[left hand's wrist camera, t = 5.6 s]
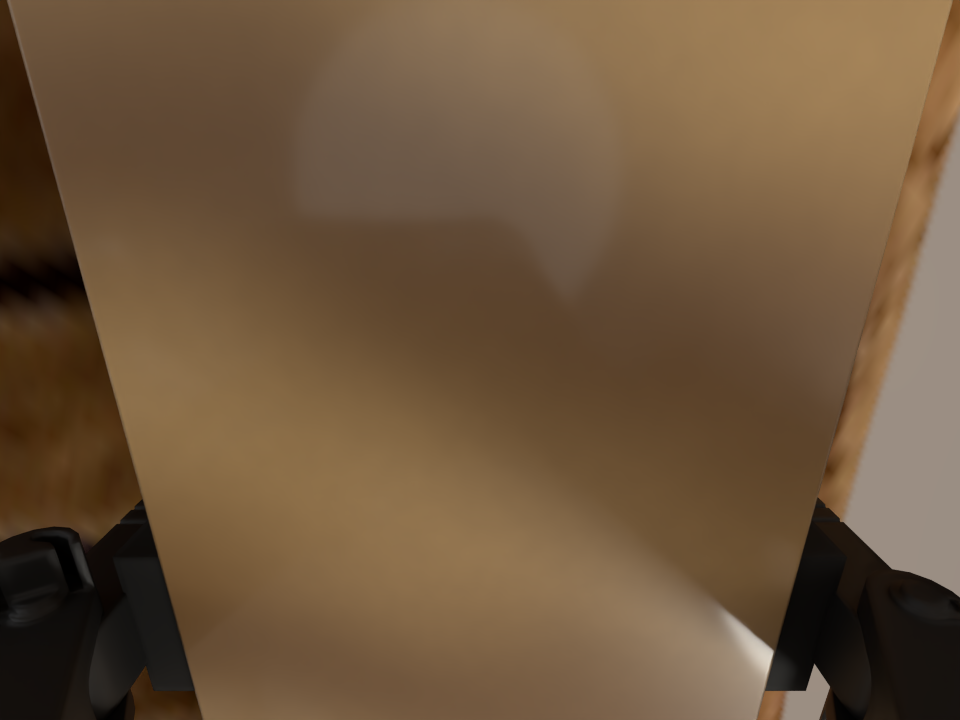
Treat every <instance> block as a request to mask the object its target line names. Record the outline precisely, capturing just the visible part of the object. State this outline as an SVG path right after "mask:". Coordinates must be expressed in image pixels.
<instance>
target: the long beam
mask: <svg viewBox="0 0 960 720" xmlns="http://www.w3.org/2000/svg"><path fill="white" fill-rule="evenodd" d="M952 2H953V0H7V3H8V6H9V10H10V14H11V17H12V21H13V25H14V28H15V32H16V36H17V39H18V43H19V47H20V50H21V54H22V58H23V61H24V65H25V69H26V72H27V76H28V80H29V83H30V87H31V91H32V94H33V98H34V102H35V105H36V109H37V113H38V116H39V120H40V124H41V127H42V131H43V135H44V139H45V142H46V146H47V150H48V153H49V157H50V161H51V164H52V168H53V172H54V175H55V179H56V183H57V186H58V190H59V194H60V197H61V201H62V205H63V208H64V212H65V216H66V219H67V223H68V227H69V230H70V234H71V238H72V241H73V245H74V249H75V252H76V256H77V260H78V263H79V267H80V271H81V274H82V278H83V282H84V285H85V289H86V293H87V296H88V300H89V304H90V307H91V311H92V315H93V318H94V322H95V326H96V329H97V333H98V337H99V340H100V344H101V348H102V351H103V355H104V359H105V362H106V366H107V370H108V373H109V377H110V381H111V384H112V388H113V392H114V395H115V399H116V403H117V406H118V410H119V414H120V417H121V421H122V425H123V428H124V432H125V436H126V439H127V443H128V447H129V450H130V454H131V458H132V462H133V465H134V469H135V473H136V476H137V480H138V484H139V487H140V491H141V495H142V498H143V502H144V506H145V509H146V513H147V517H148V520H149V524H150V528H151V531H152V535H153V539H154V542H155V546H156V550H157V553H158V557H159V561H160V564H161V568H162V572H163V575H164V579H165V583H166V586H167V590H168V594H169V597H170V601H171V605H172V608H173V612H174V616H175V619H176V623H177V627H178V630H179V634H180V638H181V641H182V645H183V649H184V652H185V656H186V660H187V663H188V667H189V671H190V674H191V678H192V682H193V685H194V689H195V693H196V696H197V700H198V704H199V707H200V711H201V715H202V718H203V720H757V718H758V714H759V710H760V707H761V703H762V699H763V696H764V692H765V688H766V685H767V681H768V677H769V674H770V670H771V666H772V663H773V659H774V655H775V652H776V648H777V644H778V641H779V637H780V633H781V630H782V626H783V622H784V619H785V615H786V611H787V608H788V604H789V600H790V597H791V593H792V589H793V586H794V582H795V578H796V575H797V571H798V567H799V564H800V560H801V556H802V553H803V549H804V545H805V541H806V538H807V534H808V530H809V527H810V523H811V519H812V516H813V512H814V508H815V505H816V501H817V497H818V494H819V490H820V486H821V483H822V479H823V475H824V472H825V468H826V464H827V461H828V457H829V453H830V450H831V446H832V442H833V439H834V435H835V431H836V428H837V424H838V420H839V417H840V413H841V409H842V406H843V402H844V398H845V395H846V391H847V387H848V384H849V380H850V376H851V373H852V369H853V365H854V362H855V358H856V354H857V350H858V347H859V343H860V339H861V336H862V332H863V328H864V325H865V321H866V317H867V314H868V310H869V306H870V303H871V299H872V295H873V292H874V288H875V284H876V281H877V277H878V273H879V270H880V266H881V262H882V259H883V255H884V251H885V248H886V244H887V240H888V237H889V233H890V229H891V226H892V222H893V218H894V215H895V211H896V207H897V204H898V200H899V196H900V193H901V189H902V185H903V182H904V178H905V174H906V170H907V167H908V163H909V159H910V156H911V152H912V148H913V145H914V141H915V137H916V134H917V130H918V126H919V123H920V119H921V115H922V112H923V108H924V104H925V101H926V97H927V93H928V90H929V86H930V82H931V79H932V75H933V71H934V68H935V64H936V60H937V57H938V53H939V49H940V46H941V42H942V38H943V35H944V31H945V27H946V24H947V20H948V16H949V13H950V9H951V5H952Z"/></svg>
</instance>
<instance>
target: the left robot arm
mask: <svg viewBox="0 0 960 720" xmlns="http://www.w3.org/2000/svg"><path fill="white" fill-rule="evenodd" d="M120 521H121V522H120V524H116V525H115V526H114V527H113V528H112V529H111V530H110V531H109V532H108V533H107V534H106V535H105V536H104V537H103V538H102V539H101V540H100V541H99V542H98V543H97V544H96V545H95V546H94V547H93V548H92V549H91V550H90V551H89V552H88V553H87V554H85V551H84V548H83V545H82V542H81V539H80V536H79V533H77V532H76V531H74V530H72V529H71V528H65V527H49V528H42V529H36V530H32V531H29V532H25V533H22V534H19V535H16V536H13V537H10V538H8V539H6V540H4V541H2V542H0V720H134V714H135V705H134V699H133V695H132V692H131V689H130V688H131V686H132V685H133V684H134V682H135V681H136V679H137V678H138V676H139V675H140V673H141V672H142V670H143V669H144V667H145V666H146V667H147V670H148V674H149V677H150V680H151V683H152V686H153V690H154V691H195V689H194V685H193V682H192V678H191V674H190V671H189V667H188V663H187V660H186V656H185V652H184V649H183V645H182V641H181V638H180V634H179V630H178V627H177V623H176V619H175V616H174V612H173V608H172V605H171V601H170V597H169V594H168V590H167V586H166V583H165V579H164V575H163V572H162V568H161V564H160V561H159V557H158V553H157V550H156V546H155V542H154V539H153V535H152V531H151V528H150V524H149V520H148V517H147V513H146V509H145V506H144V502H143V499H142V500H141V501H140V502H139V503H138V504H137V505H136V506H135V509H134V510H131V511H130V512H129V513H128V514H127V515H126V516H125V517H124V518H123V519H121V520H120ZM814 664H815V665H816V666H817V668H818V669H819V671H820V672H821V674H822V675H823V677H824V678H825V680H826V681H827V683H828V684H829V686H830V689H829V692H828V695H827V698H826V701H825V704H824V707H823V710H822V713H821V716H820V719H819V720H960V597H959V596H957V595H956V594H955V593H953V592H952V591H950V590H949V589H947V588H945V587H943V586H941V585H939V584H938V583H936V582H934V581H932V580H930V579H927V578H924V577H921V576H918V575H916V574H913V573H910V572H905V571H899V570H893V569H891V568H890V567H889V566H888V565H887V564H886V563H885V562H884V561H883V560H882V559H881V558H880V557H879V556H878V555H877V554H876V553H875V552H874V551H873V550H872V549H871V548H870V547H868V546H867V545H866V544H865V543H864V542H863V541H862V540H861V539H860V538H859V537H858V536H857V535H856V534H855V533H854V532H853V531H852V530H851V529H850V528H849V527H848V526H847V525H846V524H845V523H844V522H840V518H839V517H837V516H836V515H835V514H834V513H833V512H832V511H831V510H830V509H829V508H826V507H825V504H824V503H823V502H822V501H821V500H820V499H819V498H818V497H817V501H816V505H815V508H814V512H813V516H812V519H811V523H810V527H809V530H808V534H807V538H806V541H805V545H804V549H803V553H802V556H801V560H800V564H799V567H798V571H797V575H796V578H795V582H794V586H793V589H792V593H791V597H790V600H789V604H788V608H787V611H786V615H785V619H784V622H783V626H782V630H781V633H780V637H779V641H778V644H777V648H776V652H775V655H774V659H773V663H772V666H771V670H770V674H769V677H768V681H767V685H766V688H765V691H806V688H807V685H808V682H809V679H810V676H811V672H812V669H813V666H814Z"/></svg>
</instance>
